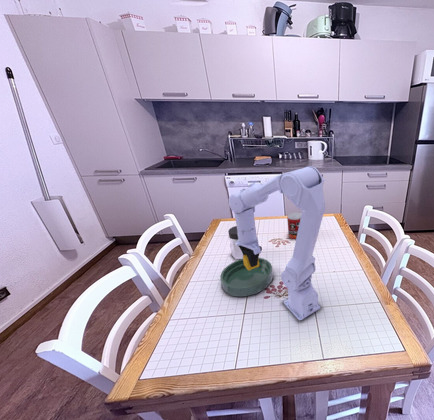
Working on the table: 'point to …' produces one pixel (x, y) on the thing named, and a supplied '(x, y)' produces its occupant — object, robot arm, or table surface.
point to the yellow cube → (247, 264)
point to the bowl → (246, 278)
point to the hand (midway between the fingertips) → (251, 262)
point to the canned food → (293, 224)
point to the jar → (234, 243)
